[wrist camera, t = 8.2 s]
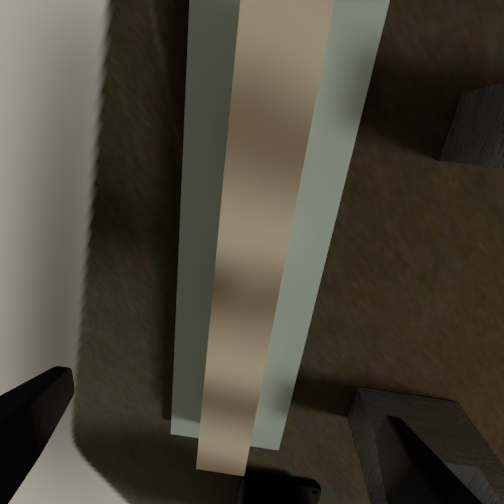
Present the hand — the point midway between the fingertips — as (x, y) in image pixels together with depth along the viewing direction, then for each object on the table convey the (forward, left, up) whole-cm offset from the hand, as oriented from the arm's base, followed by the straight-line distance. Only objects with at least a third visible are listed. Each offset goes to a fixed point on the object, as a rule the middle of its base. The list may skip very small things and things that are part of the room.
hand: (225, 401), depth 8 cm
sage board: (0, 0, -10) cm, 10 cm away
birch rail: (0, 0, -9) cm, 9 cm away
